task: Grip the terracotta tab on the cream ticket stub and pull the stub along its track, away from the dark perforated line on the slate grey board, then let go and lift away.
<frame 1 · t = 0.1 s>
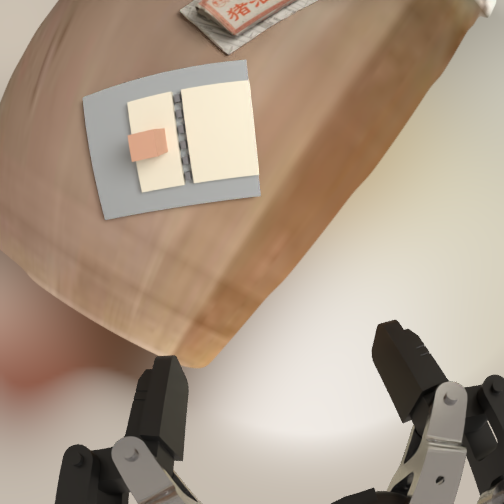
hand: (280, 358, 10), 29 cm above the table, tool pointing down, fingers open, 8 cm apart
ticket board: (175, 137, 32), on the table
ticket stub: (150, 143, 28), point 5 cm above the table, slide at 0.0 cm
packaged product: (255, 0, 25), on the table
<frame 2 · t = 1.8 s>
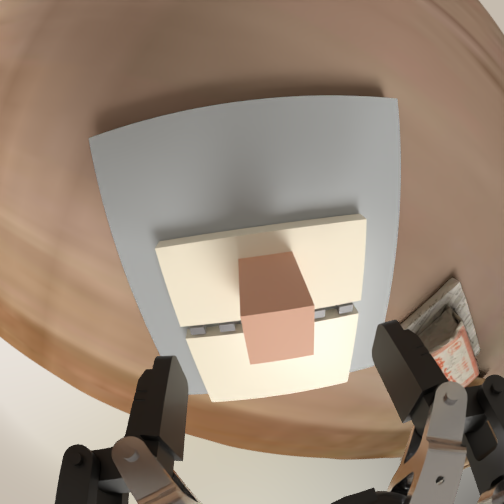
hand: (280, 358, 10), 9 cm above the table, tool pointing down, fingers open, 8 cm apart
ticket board: (267, 284, 19), on the table
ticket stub: (272, 298, 14), point 5 cm above the table, slide at 0.0 cm
packaged product: (436, 342, 25), on the table
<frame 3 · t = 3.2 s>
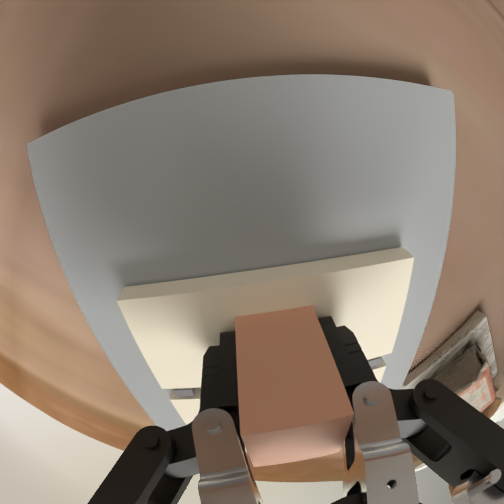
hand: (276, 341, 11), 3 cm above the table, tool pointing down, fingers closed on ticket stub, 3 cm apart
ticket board: (272, 333, 14), on the table
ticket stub: (284, 375, 9), point 5 cm above the table, slide at 0.0 cm, touching gripper
packaged product: (453, 372, 21), on the table
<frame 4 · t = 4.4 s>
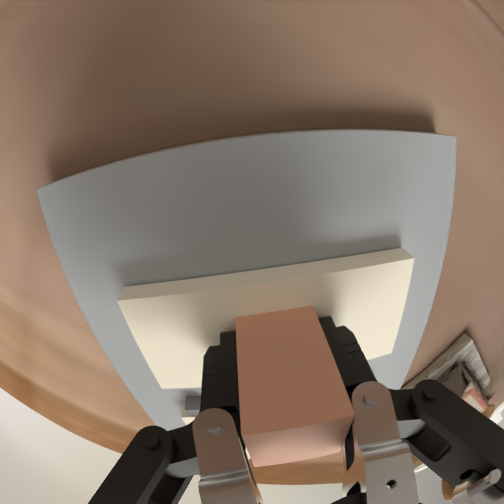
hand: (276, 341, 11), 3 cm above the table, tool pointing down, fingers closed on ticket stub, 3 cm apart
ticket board: (274, 358, 15), on the table
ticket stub: (284, 375, 9), point 5 cm above the table, slide at 2.1 cm, touching gripper
packaged product: (444, 385, 22), on the table
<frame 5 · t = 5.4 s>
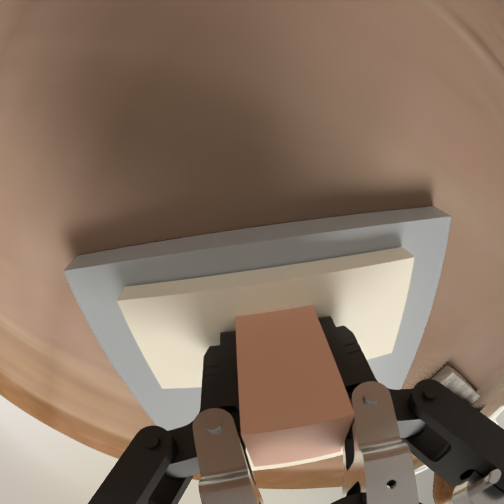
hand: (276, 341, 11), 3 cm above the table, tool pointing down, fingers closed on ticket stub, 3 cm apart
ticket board: (278, 392, 17), on the table
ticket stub: (284, 375, 9), point 5 cm above the table, slide at 5.9 cm, touching gripper
brown hollow piece: (446, 430, 30), on the table
packaged product: (432, 403, 24), on the table
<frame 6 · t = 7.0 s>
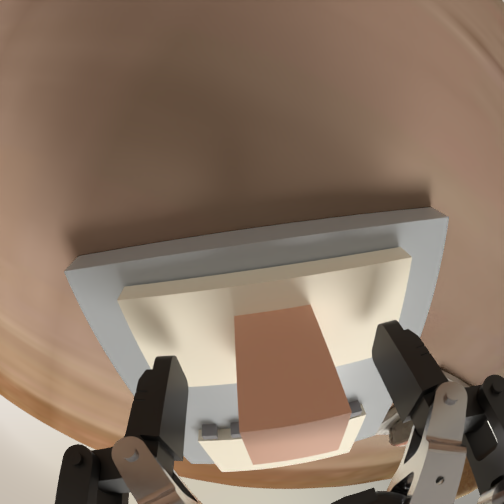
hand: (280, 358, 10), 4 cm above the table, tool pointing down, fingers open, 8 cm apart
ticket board: (277, 392, 17), on the table
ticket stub: (282, 374, 9), point 5 cm above the table, slide at 5.9 cm
brown hollow piece: (446, 429, 31), on the table
packaged product: (430, 404, 24), on the table
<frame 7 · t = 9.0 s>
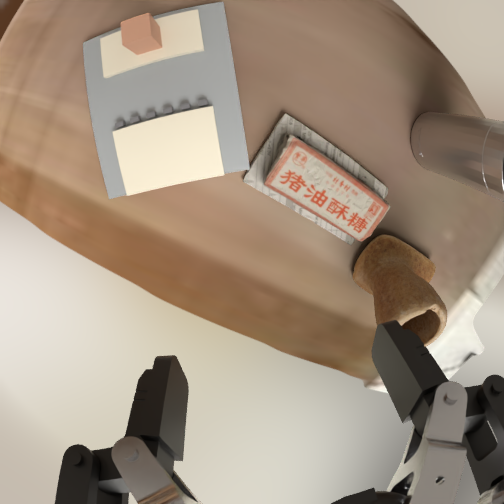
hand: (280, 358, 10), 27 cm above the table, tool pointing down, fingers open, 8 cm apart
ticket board: (162, 103, 28), on the table
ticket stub: (143, 36, 20), point 5 cm above the table, slide at 5.9 cm
brown hollow piece: (385, 271, 42), on the table
packaged product: (319, 181, 35), on the table
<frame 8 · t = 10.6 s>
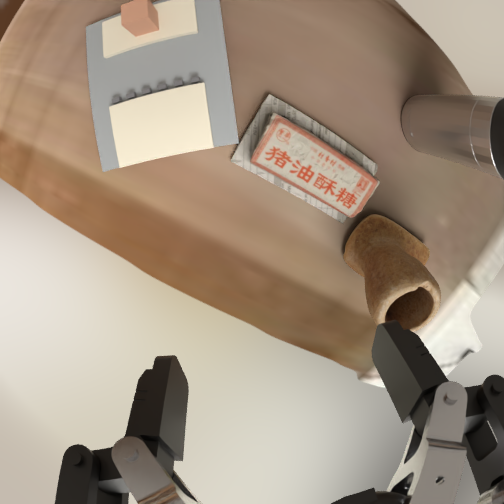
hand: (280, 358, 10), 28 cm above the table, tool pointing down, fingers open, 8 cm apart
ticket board: (157, 81, 28), on the table
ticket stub: (141, 18, 20), point 5 cm above the table, slide at 5.9 cm
brown hollow piece: (378, 254, 41), on the table
packaged product: (307, 160, 35), on the table
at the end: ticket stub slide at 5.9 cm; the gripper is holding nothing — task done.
